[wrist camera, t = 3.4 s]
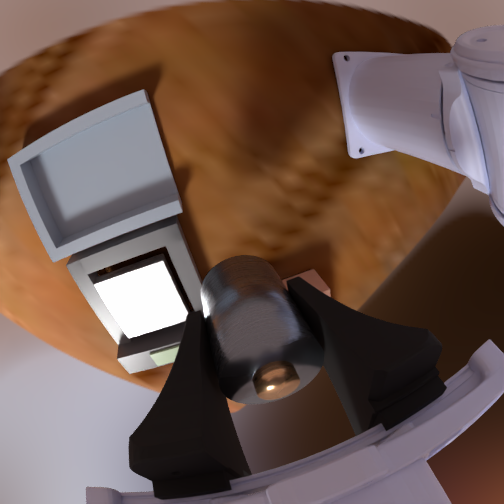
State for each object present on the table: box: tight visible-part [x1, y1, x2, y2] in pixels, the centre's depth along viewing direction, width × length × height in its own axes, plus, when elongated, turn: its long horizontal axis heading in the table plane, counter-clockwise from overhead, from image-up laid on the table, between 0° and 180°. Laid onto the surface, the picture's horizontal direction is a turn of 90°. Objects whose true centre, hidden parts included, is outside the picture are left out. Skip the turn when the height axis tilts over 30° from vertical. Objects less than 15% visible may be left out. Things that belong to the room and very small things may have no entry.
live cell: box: [201, 255, 324, 404], centre depth 12 cm, size 4×4×6 cm
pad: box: [94, 253, 190, 338], centre depth 19 cm, size 5×5×1 cm
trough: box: [8, 89, 183, 262], centre depth 15 cm, size 10×8×2 cm
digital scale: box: [66, 215, 205, 374], centre depth 19 cm, size 10×8×3 cm
